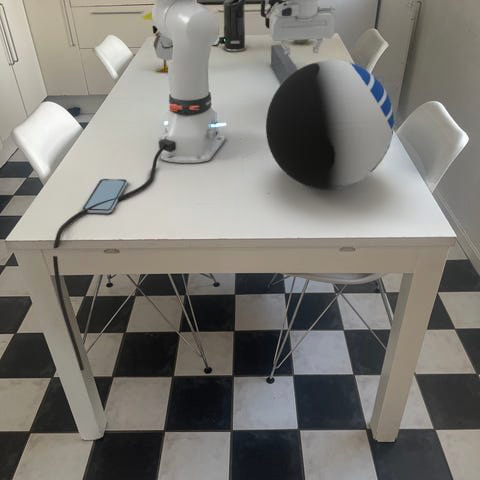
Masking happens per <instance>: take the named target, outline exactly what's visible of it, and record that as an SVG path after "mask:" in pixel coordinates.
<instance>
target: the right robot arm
mask: <svg viewBox="0 0 480 480" xmlns="http://www.w3.org/2000/svg"><path fill="white" fill-rule="evenodd" d="M284 2H287V1H283V0H260V16H261V17H262V18H265V22H264V23H265V24H264V25H265V27H266V29H271V24H270V23H271V22H270V21H271V18H270V17H271V15H272V14H273V13H274V12H275V6H277V5H279V4H282V3H284ZM268 4H269V7H268V10H267V11H266V7H267V5H268ZM245 5H246V0H225V1H224V2H223V6H222V7H223V8H222V9H223V36H218V41H217V43H216V44H213V45H212V47H218V46H220V45H223V46H224V47H223V48H224V50H225V51H226V52H230V53H231V52H232V53H235V52H237V53H238V52H243V51H245V50H246V25H245V24H246V23H245V16H246V15H245ZM265 12H266V13H265ZM157 34H158V32H156V34H154V35H155V37H156V36H157Z"/></svg>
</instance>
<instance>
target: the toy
mask: <svg viewBox="0 0 480 480" xmlns="http://www.w3.org/2000/svg"><path fill="white" fill-rule="evenodd" d="M141 17H142V18H143V20H149V21H150V20H151V21H152V11H151V12H149V13H147V14H144V15H142V16H141ZM152 33H153V34H154V35H156V33H158V34H157V36H155V39H154V41H153V47H154V50H155V51H154V52H155V54H156V58H158V59H161V60H163V68H161V69H158V70H156V72H159V73H165V72H166V73H167V72H168V66H167V61H172V55H173V42H172V40H171V39H169V38H167V37H165V36H163V35H162V34H161V33H160V32H159V30H158V29H157V28H156V27H155V25H152Z"/></svg>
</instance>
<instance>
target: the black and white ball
mask: <svg viewBox="0 0 480 480" xmlns="http://www.w3.org/2000/svg"><path fill="white" fill-rule="evenodd" d="M265 119H266V120H265V135H266V141H267V145H268V147H269V151H270V153H271V155H272V157H273V159H274V161H275V162H276V164H277V165H278V166H279V168H280V169H281V170H282V171H283V172H284V174H286V175H287V176H288V177H290V178H291V179H292V180H294V181H295V182H297V183H299V184H301V185H303V186H306V187H310V188H313V189H317V190H338V189H342V188H346V187H349V186H351V185H354V184H356V183H358V182H361V181H362V180H363V179H366V177H368V176H369V175H370V174H371V173H373V172H374V170H376V169H377V167H378V166H379V165H380V164H381V162H382V161H383V160H384V158H385V157H386V154H387V153H388V151H389V149H390V146H391V143H392V139H393V135H394V129H395V128H394V127H395V115H394V110H393V106H392V102H391V99H390V97H389V95H388V92H387V90H386V89H385V87H384V86H383V84H382V83H381V82H380V81H379V79H378V78H377V77H375V75H373V73H371V72H369V70H368V69H365V68H364V67H362V66H359V65H357V64H355V63H352V62H350V61H346V60H338V59H337V60H336V59H328V60H320V61H316V62H312V63H309V64H307V65H304V66H303V67H301V68H299V69H298V70H297V71H296V72H294V73H293V74H292V75H290V76H289V77H288V78H287V79H286V80H285V81H284V82H283V83H282V84H281V83H280V86H278V88H277V90H276V91H275V92H274V94H273V97H272V99H271V101H270V104H269V105H268V109H267V115H266V118H265Z"/></svg>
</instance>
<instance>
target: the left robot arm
mask: <svg viewBox="0 0 480 480" xmlns="http://www.w3.org/2000/svg"><path fill="white" fill-rule="evenodd" d="M283 1H287V2H284V3H282V4H279V5H277V6H275V11H274V13H275V14H274V15H273V17H272V19H271V22H270V23H271V24H270V34H269V35H270V38H271V40H272V41H273V42H281V45H282V47H283V48H284V50H285V55H288V56H289V55H291V49H290V47H287V43H288V41H294V40H303V39H309V40H316V41H317V43H316V45H313V46H312V52H313V53H314V54H319V51H320V48H321V46H322V44H323V42H324V39H332V38H333V37H334V35H335V19H336V16H337V11H336V9H335V8H334V7H332V6H331V5H328V6H319V0H283ZM151 12H152V20H151V21H152V23H153V26H155V27H156V28H157V29H158V30H157V31H158V32H160V33H161V34H162V35H163V36H165V37H167V38H169V39H171V40H172V42H173V55H172V59H171V60H170V63H169V64H168V66H167V68H168V69H167V74H168V75H167V76H168V84H169V95H168V104H169V110H168V111H167V112H166V117H167V121H164V122H163V124H164V126H167V128H165V134H163V135H162V136H161V137H162V138H161V139H160V140H158V146H159V150H157V152H156V154H155V155H154V158H153V161H152V166H151V167H152V168H151V170H150V175H149V178H148V179H147V181H145V182H144V183H143V184H141V185H140V186H139V187H137V188H135V189H133V190H131V191H129V192H127V193H124V194H121V196H119V197H116V198H113V199H110V200H107V201H104V202H101V203H98V204H95V205H93V206H91V207H89V208H87V209H85V210H83V211H82V210H81V211H78V212H77V213H75V214H73V215H72V216H71V217H70V218H68V219H67V220H66V221H65V222H64V223H63V224H62V225H61V226H60V227H59V228H58V231H57V232H56V235H55V239H54V243H53V249H57V248H58V247H59V245H60V241H61V236H62V233H63V232H64V230H66V228H67V227H68V226H69V225H70V224H72V223H73V222H74V221H76V220H77V219H79V218H80V217H81V216H83V215H85V214H88V213H87V212H88V210H90V209H92V208H94V207H96V206H98V205H100V204H103V203H105V202H108V201H111V200H114V199H117V198H118V202H119V201H122V200H124V199H126V198H129V197H131V196H133V195H135V194H137V193H139V192H141V191H142V190H144V189H146V188H147V187H149V185H150V184H151V183H152V181H153V179H154V177H155V172H156V168H157V163H158V159H159V157H160V158H161V160H163V161H165V162H170V163H178V164H179V163H180V164H181V163H182V164H195V163H204V162H208V161H210V160H211V159H212V158H213V157H214V155H215V154H216V153H217V151H218V150H219V149H220V148H221V146H222V145H223V144H224V142H225V139H226V138H225V136H224V135H222V134H220V133H219V127H225V126H227V123H226V122H220V123H219V119H218V113H217V112H216V111H215V110H214V109H213V108H212V93H211V92H210V84H209V60H210V56H211V51H212V47H213V46H212V45H215V43H216V42H217V40H218V39H219V35H220V22H219V18H217V16H216V15H215V13H214V12H213V11H212V10H210V9H209V7H207V6H206V5H204V4H202V3H199V2H197V1H196V0H154V4H153V6H152V9H151ZM52 262H53V271H54V280H55V285H56V290H57V295H58V299H59V304H60V308H61V311H62V315H63V317H64V318H63V319H64V323H65V325H66V329H67V331H68V334H69V337H70V340H71V343H72V347H73V350H74V353H75V356H76V360H77V363H78V366H79V370H80V371H84V370H85V367H84V364H83V360H82V357H81V353H80V349H79V346H78V344H77V340H76V337H75V334H74V331H73V328H72V325H71V321H70V318H69V316H68V315H69V314H68V311H67V308H66V304H65V300H64V296H63V289H62V284H61V279H60V270H59V261H58V255H53V256H52Z"/></svg>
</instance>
